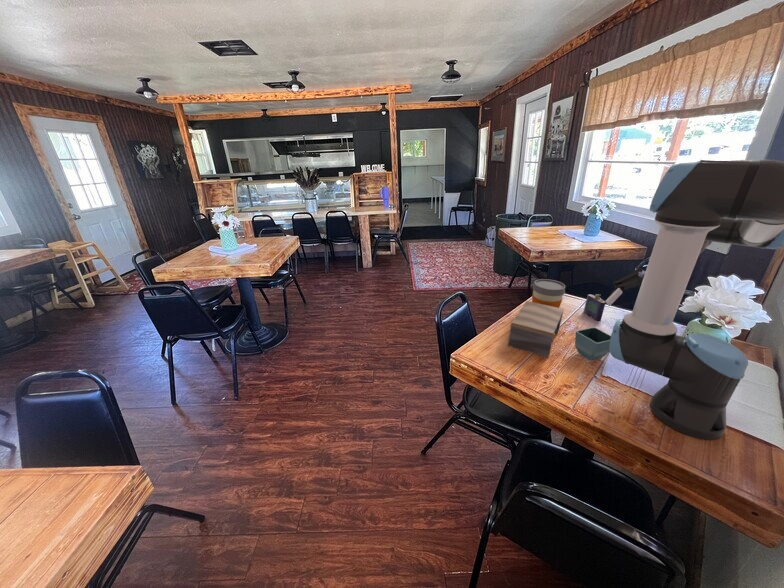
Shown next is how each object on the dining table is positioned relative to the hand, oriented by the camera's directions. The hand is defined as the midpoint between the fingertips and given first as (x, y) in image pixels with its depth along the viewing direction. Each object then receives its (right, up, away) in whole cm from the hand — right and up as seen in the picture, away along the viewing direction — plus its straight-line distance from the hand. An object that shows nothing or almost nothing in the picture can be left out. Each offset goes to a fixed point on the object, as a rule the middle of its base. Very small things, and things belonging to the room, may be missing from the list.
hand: (625, 311), depth 108 cm
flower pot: (-10, -16, +3) cm, 20 cm away
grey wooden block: (-25, -11, +15) cm, 31 cm away
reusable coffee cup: (-13, -4, +32) cm, 34 cm away
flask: (+7, -4, +30) cm, 31 cm away
